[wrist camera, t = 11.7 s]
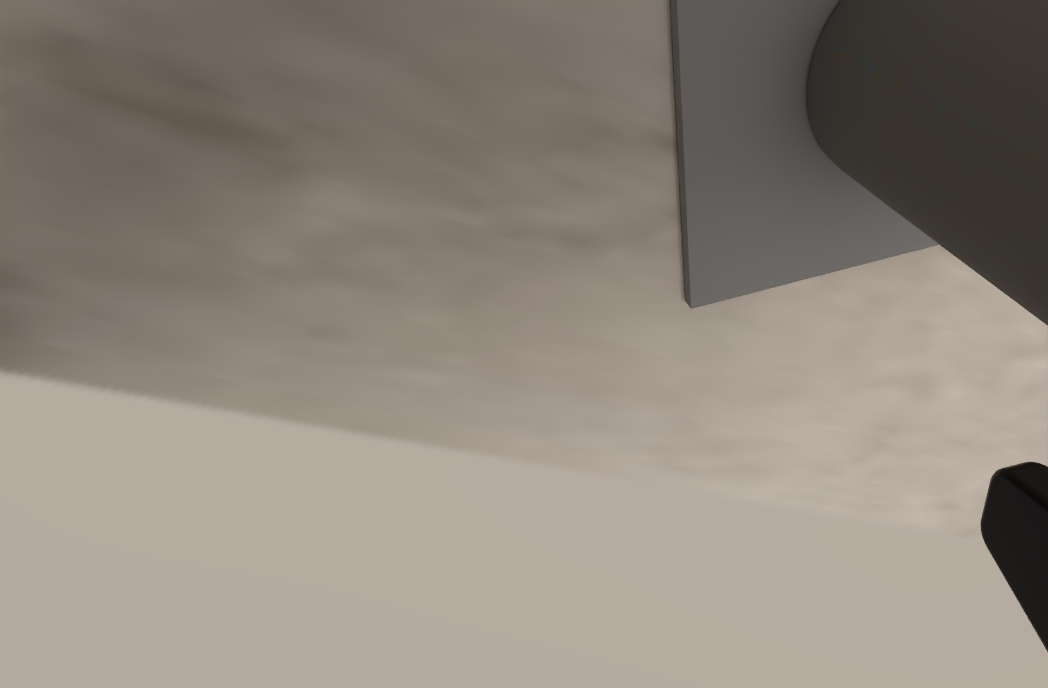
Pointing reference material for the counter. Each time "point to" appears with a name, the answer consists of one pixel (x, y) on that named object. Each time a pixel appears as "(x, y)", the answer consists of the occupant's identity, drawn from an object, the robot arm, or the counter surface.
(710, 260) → the slate mat
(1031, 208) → the bottle
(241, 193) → the counter surface
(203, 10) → the counter surface
